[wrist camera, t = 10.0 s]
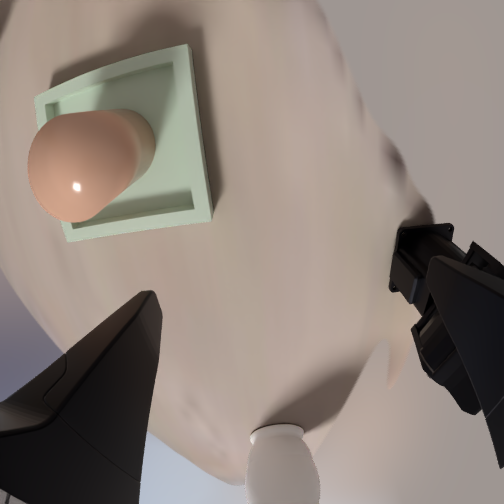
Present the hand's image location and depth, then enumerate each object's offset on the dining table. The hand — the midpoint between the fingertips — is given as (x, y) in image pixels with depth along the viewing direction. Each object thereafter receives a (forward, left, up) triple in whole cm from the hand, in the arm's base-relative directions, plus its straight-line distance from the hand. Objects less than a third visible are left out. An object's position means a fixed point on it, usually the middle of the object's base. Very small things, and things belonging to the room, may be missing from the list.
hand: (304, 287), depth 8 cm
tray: (+10, -4, -13) cm, 17 cm away
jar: (+1, +38, -13) cm, 40 cm away
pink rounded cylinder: (+10, -4, -12) cm, 16 cm away
